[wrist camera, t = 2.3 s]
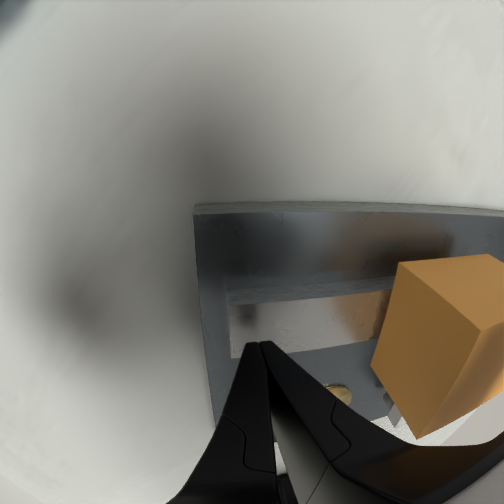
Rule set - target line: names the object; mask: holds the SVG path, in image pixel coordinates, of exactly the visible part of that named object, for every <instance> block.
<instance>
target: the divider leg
mask: <svg viewBox="0 0 504 504" xmlns="http://www.w3.org/2000/svg"><path fill="white" fill-rule="evenodd" d="M370 366H371V368H372V369H373V371H374V372H375V374H376V375H377V377H378V378H379V380H380V381H381V383H382V385H383V386H384V388H385V389H386V391H387V392H386V393H385V394H384V395H383V400H384V401H385V403H386V405H387V406H388V408H389V410H390V412H389V414H388V418H389V419H390V421H391V423H392V425H393V426H394V428H397V427H400V426H402V425H405V424H407V425H408V426H409V428H410V430H411V431H412V433H413V435H414V436H415V438H416V440H417V439H419V438H421V437H423V436H425V435H428V434H430V433H432V432H434V431H436V430H438V429H440V428H442V427H444V426H445V425H447V424H449V423H451V422H453V421H455V420H457V419H458V418H460V417H462V416H464V415H465V414H467V413H469V412H470V411H472V410H474V409H475V408H477V407H479V406H480V405H482V404H483V403H485V402H486V401H488V400H490V399H491V398H493V397H494V396H495V395H497V394H498V393H500V392H501V391H503V390H504V263H503V262H501V261H499V260H498V259H496V258H494V257H493V256H491V255H489V254H480V255H470V256H460V257H450V258H440V259H429V260H418V261H407V262H399V263H398V267H397V272H396V277H395V281H394V285H393V289H392V293H391V297H390V301H389V305H388V309H387V313H386V316H385V320H384V323H383V327H382V330H381V333H380V337H379V340H378V343H377V346H376V349H375V352H374V355H373V358H372V361H371V364H370Z"/></svg>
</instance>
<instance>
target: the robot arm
mask: <svg viewBox="0 0 504 504" xmlns="http://www.w3.org/2000/svg"><path fill="white" fill-rule="evenodd" d="M273 431H274V434H275V437H276V440H277V443H278V446H279V449H280V452H281V455H282V458H283V461H284V464H285V466H286V469H287V472H288V475H287V476H282V477H277V474H276V473H277V471H276V460H275V449H274V438H273ZM166 504H504V431H503V432H502V433H501V434H499V435H498V436H497V437H495V438H494V439H493V440H491V441H489V442H486V443H483V444H479V445H468V446H418V445H414V444H410V443H407V442H405V441H403V440H401V439H399V438H397V437H396V436H394V435H392V434H390V433H389V432H387V431H385V430H384V429H382V428H380V427H379V426H377V425H375V424H374V423H372V422H370V421H369V420H367V419H366V418H364V417H363V416H361V415H360V414H358V413H357V412H355V411H354V410H353V409H351V408H350V407H349V406H348V405H346V404H345V403H344V402H343V401H341V400H340V399H339V398H337V397H336V396H335V395H334V394H333V393H332V392H330V391H329V390H328V389H327V388H326V387H324V386H323V385H322V384H321V383H320V382H318V381H317V380H316V379H315V378H314V377H313V376H311V375H310V374H309V373H308V372H307V371H306V370H304V369H303V368H302V367H301V366H300V365H299V364H298V363H296V362H295V361H294V360H293V359H292V358H291V357H290V356H288V355H287V354H286V353H285V352H284V351H283V350H282V349H281V348H279V347H278V346H277V345H276V344H275V343H274V342H273V341H271V340H267V341H260V342H259V343H258V342H247V343H245V346H244V349H243V352H242V355H241V358H240V361H239V364H238V367H237V369H236V372H235V375H234V378H233V381H232V384H231V387H230V390H229V393H228V396H227V398H226V401H225V404H224V407H223V410H222V413H221V416H220V418H219V421H218V424H217V426H216V429H215V431H214V433H213V436H212V438H211V440H210V442H209V444H208V446H207V448H206V450H205V452H204V453H203V455H202V457H201V458H200V460H199V462H198V464H197V465H196V467H195V469H194V470H193V472H192V474H191V475H190V477H189V479H188V480H187V482H186V483H185V485H184V486H183V488H182V489H181V490H180V491H179V493H178V494H177V495H176V496H175V497H174V498H172V499H171V500H170V501H169V502H167V503H166Z"/></svg>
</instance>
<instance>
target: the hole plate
mask: <svg viewBox="0 0 504 504" xmlns="http://www.w3.org/2000/svg"><path fill="white" fill-rule="evenodd" d="M193 217H194V234H195V250H196V264H197V276H198V288H199V299H200V310H201V320H202V329H203V338H204V347H205V355H206V364H207V371H208V379H209V386H210V393H211V400H212V407H213V414H214V420H215V426H217V424H218V421H219V418H220V416H221V413H222V410H223V407H224V404H225V401H226V398H227V396H228V393H229V390H230V387H231V384H232V381H233V378H234V375H235V372H236V369H237V367H238V364H239V361H240V358H241V355H242V352H243V349H244V346H245V343H247V342H258V343H259V342H260V341H267V340H271V341H273V342H274V343H275V344H276V345H277V346H278V347H279V348H281V349H282V350H283V351H284V352H285V353H286V354H287V355H288V356H290V357H291V358H292V359H293V360H294V361H295V362H296V363H298V364H299V365H300V366H301V367H302V368H303V369H304V370H306V371H307V372H308V373H309V374H310V375H311V376H313V377H314V378H315V379H316V380H317V381H318V382H320V383H321V384H322V385H323V386H324V387H326V388H327V389H328V390H329V391H330V392H332V393H333V394H334V395H335V396H336V397H337V398H339V399H340V400H341V401H343V402H344V403H345V404H346V405H348V406H349V407H350V408H351V409H353V410H354V411H355V412H357V413H358V414H360V415H361V416H363V417H364V418H366V419H367V420H369V421H372V420H375V419H378V418H381V417H384V416H387V415H388V414H389V412H390V410H389V408H388V406H387V405H386V403H385V401H384V400H383V395H384V394H385V393H386V392H387V391H386V389H385V388H384V386H383V385H382V383H381V381H380V380H379V378H378V377H377V375H376V374H375V372H374V371H373V369H372V368H371V366H370V364H371V361H372V358H373V355H374V352H375V349H376V346H377V343H378V340H379V337H380V333H381V330H382V327H383V323H384V320H385V316H386V313H387V309H388V305H389V301H390V297H391V293H392V289H393V285H394V281H395V277H396V272H397V267H398V263H399V262H407V261H418V260H429V259H440V258H450V257H460V256H470V255H480V254H489V255H491V256H493V257H494V258H496V259H498V260H499V261H501V262H503V263H504V211H498V210H488V209H476V208H464V207H451V206H435V205H418V204H396V203H367V202H248V203H217V204H195V209H194V214H193ZM273 438H274V442H277V440H276V437H275V434H274V431H273Z"/></svg>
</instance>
